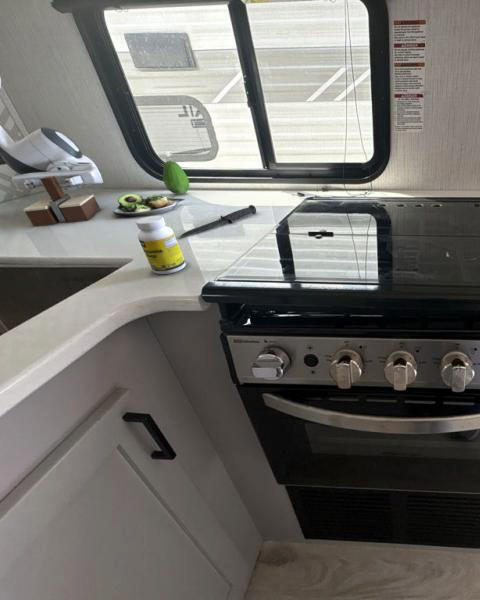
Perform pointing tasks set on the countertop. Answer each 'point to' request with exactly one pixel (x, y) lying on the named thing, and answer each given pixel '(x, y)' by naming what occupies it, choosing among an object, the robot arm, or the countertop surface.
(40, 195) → the countertop surface
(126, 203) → the salad plate
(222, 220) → the knife
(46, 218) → the cake
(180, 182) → the avocado
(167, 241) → the pill bottle
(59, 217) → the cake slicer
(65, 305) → the countertop surface
